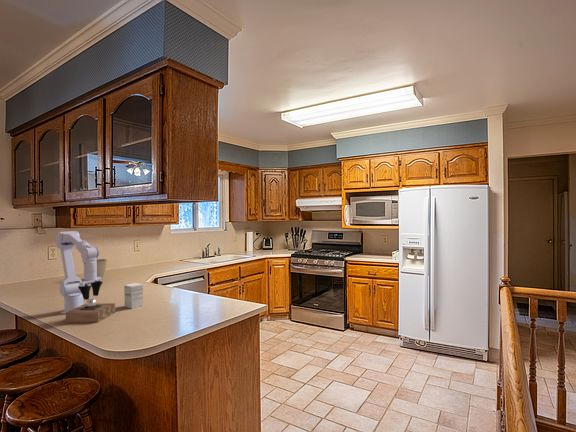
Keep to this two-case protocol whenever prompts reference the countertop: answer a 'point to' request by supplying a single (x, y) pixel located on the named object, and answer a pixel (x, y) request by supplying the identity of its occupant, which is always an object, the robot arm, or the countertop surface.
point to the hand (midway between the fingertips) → (91, 297)
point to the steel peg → (91, 303)
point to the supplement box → (133, 295)
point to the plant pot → (101, 267)
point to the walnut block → (90, 313)
